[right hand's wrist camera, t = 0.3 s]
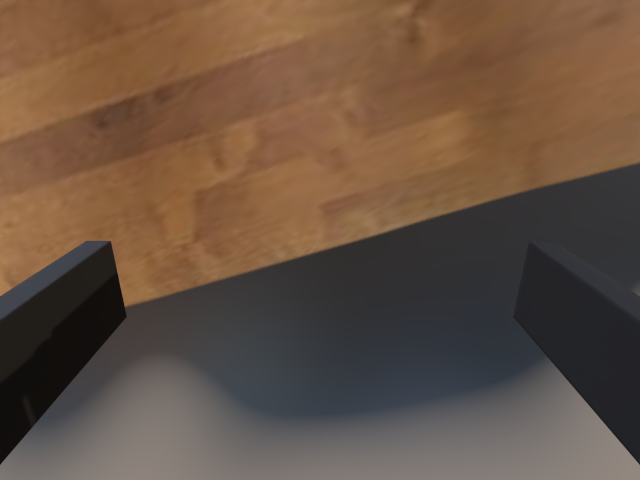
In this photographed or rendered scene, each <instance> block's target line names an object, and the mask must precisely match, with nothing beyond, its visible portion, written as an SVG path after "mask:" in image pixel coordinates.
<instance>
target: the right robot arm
mask: <svg viewBox="0 0 640 480" xmlns="http://www.w3.org/2000/svg"><path fill="white" fill-rule="evenodd" d="M513 317H514V318H515V319H516V320H517V321H518V323H519V324H520V325H521V326H522V327H523V329H524V330H525V331H526V332H527V333H528V334H529V336H530V337H531V338H532V339H533V340H534V341H535V343H536V344H537V345H538V346H539V347H540V348H541V350H542V351H543V352H544V353H545V354H546V355H547V357H548V358H549V359H550V360H551V361H552V362H553V364H554V365H555V366H556V367H557V368H558V369H559V371H560V372H561V373H562V374H563V375H564V377H565V378H566V379H567V380H568V381H569V382H570V384H571V385H572V386H573V387H574V388H575V389H576V391H577V392H578V393H579V394H580V395H581V396H582V398H583V399H584V400H585V401H586V402H587V403H588V405H589V406H590V407H591V408H592V409H593V410H594V412H595V413H596V414H597V415H598V416H599V417H600V419H601V420H602V421H603V422H604V423H605V424H606V426H607V427H608V428H609V429H610V430H611V431H612V433H613V434H614V435H615V436H616V437H617V438H618V440H619V441H620V442H621V443H622V444H623V445H624V447H625V448H626V449H627V450H628V451H629V453H630V454H631V455H632V456H633V457H634V458H635V460H636V461H637V462H638V463H639V464H640V296H638V295H637V294H635V293H634V292H632V291H630V290H629V289H627V288H626V287H624V286H623V285H621V284H620V283H618V282H616V281H615V280H613V279H612V278H610V277H609V276H607V275H606V274H604V273H602V272H601V271H599V270H598V269H596V268H595V267H593V266H592V265H590V264H589V263H587V262H585V261H584V260H582V259H581V258H579V257H578V256H576V255H575V254H573V253H571V252H570V251H568V250H567V249H565V248H564V247H562V246H561V245H559V244H557V243H556V242H554V241H529V245H528V250H527V255H526V259H525V264H524V269H523V274H522V278H521V283H520V288H519V293H518V298H517V302H516V307H515V312H514V316H513ZM125 318H126V312H125V307H124V302H123V297H122V293H121V288H120V283H119V278H118V274H117V269H116V264H115V259H114V255H113V250H112V245H111V241H86V242H84V243H83V244H81V245H79V246H78V247H76V248H75V249H73V250H72V251H70V252H69V253H67V254H65V255H64V256H62V257H61V258H59V259H58V260H56V261H55V262H53V263H51V264H50V265H48V266H47V267H45V268H44V269H42V270H41V271H39V272H37V273H36V274H34V275H33V276H31V277H30V278H28V279H27V280H25V281H24V282H22V283H20V284H19V285H17V286H16V287H14V288H13V289H11V290H10V291H8V292H6V293H5V294H3V295H2V296H0V464H1V463H2V462H3V461H4V460H5V458H6V457H7V456H8V455H9V454H10V452H11V451H12V450H13V449H14V448H15V447H16V445H17V444H18V443H19V442H20V441H21V440H22V438H23V437H24V436H25V435H26V434H27V433H28V432H29V430H30V429H31V428H32V427H33V426H34V424H35V423H36V422H37V421H38V420H39V419H40V417H41V416H42V415H43V414H44V413H45V412H46V410H47V409H48V408H49V407H50V406H51V405H52V403H53V402H54V401H55V400H56V399H57V398H58V396H59V395H60V394H61V393H62V392H63V390H64V389H65V388H66V387H67V386H68V385H69V384H70V382H71V381H72V380H73V379H74V378H75V377H76V375H77V374H78V373H79V372H80V371H81V369H82V368H83V367H84V366H85V365H86V364H87V362H88V361H89V360H90V359H91V358H92V357H93V355H94V354H95V353H96V352H97V351H98V350H99V348H100V347H101V346H102V345H103V344H104V343H105V341H106V340H107V339H108V338H109V337H110V336H111V334H112V333H113V332H114V331H115V330H116V329H117V327H118V326H119V325H120V324H121V323H122V322H123V320H124V319H125Z"/></svg>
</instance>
